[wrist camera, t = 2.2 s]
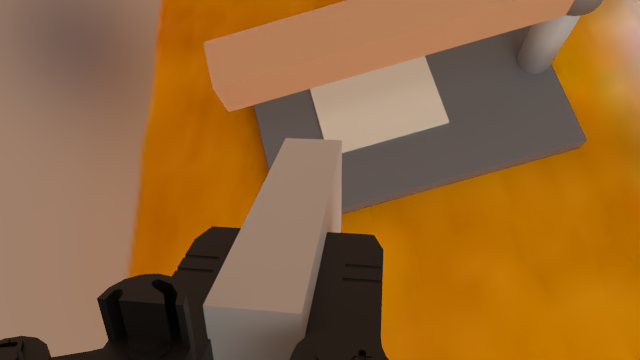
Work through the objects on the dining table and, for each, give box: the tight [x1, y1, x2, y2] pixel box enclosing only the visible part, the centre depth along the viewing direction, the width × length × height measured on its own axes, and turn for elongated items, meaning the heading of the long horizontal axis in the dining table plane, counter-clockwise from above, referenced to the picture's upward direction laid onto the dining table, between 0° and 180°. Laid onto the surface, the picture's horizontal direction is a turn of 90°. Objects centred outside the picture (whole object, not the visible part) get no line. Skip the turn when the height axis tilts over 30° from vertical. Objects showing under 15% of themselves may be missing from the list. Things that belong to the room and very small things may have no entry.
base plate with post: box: [254, 15, 586, 214], centre depth 34 cm, size 22×14×9 cm, turn 104°
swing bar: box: [203, 0, 603, 112], centre depth 28 cm, size 23×4×3 cm, turn 104°
